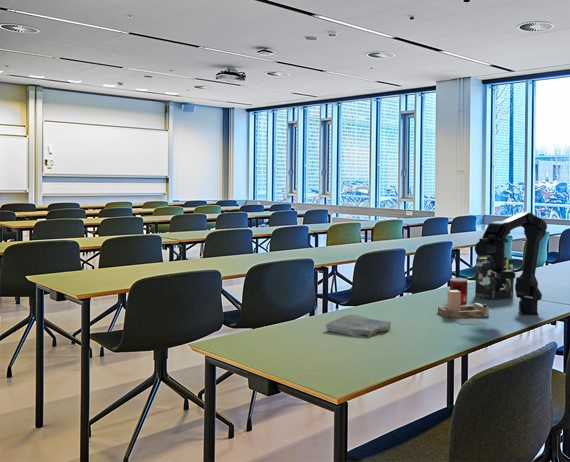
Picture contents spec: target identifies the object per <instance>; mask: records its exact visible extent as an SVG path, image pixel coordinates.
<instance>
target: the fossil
mask: <svg viewBox="0 0 570 462" xmlns="http://www.w3.org/2000/svg"><path fill="white" fill-rule="evenodd" d="M325 327H326V330H327V331H329V332H333V333H338V334H339V333H340V334H344V335H347V336H348V335H349V336H352V337H357V338H358V337H359V338H366V339H368V338H369V337H371V336H374V335H375V334H377V333H379V332H380V333H381V332H387V331H390V329H391V327H392V321H385V320H380V319H374V318H369V317H364V316H360V315H357V314H348V315H344V316H342V317H340V318H337V319H335V320H333V321H330V322H328V323H326V325H325Z"/></svg>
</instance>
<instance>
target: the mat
mask: <svg viewBox="0 0 570 462" xmlns="http://www.w3.org/2000/svg"><path fill="white" fill-rule="evenodd" d="M451 320H452V321H454V322H456V323H457V324H458V325H460V326H475V325H487V323H486V322H484V321H482V320H480V319H478V318H477V317H472V318H451Z"/></svg>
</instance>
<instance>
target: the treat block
mask: <svg viewBox="0 0 570 462" xmlns="http://www.w3.org/2000/svg"><path fill="white" fill-rule="evenodd" d="M446 295H447V296H446V297H447V299H446V300H447V301H446V305H447V310H448V311H460V309H461V306H462V304H461V292H460V291H458V290H450V289H449V290H447V293H446Z"/></svg>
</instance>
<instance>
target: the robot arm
mask: <svg viewBox="0 0 570 462" xmlns="http://www.w3.org/2000/svg"><path fill="white" fill-rule="evenodd" d="M519 227H522V228H524V229H523V230H524V231H523V233H524V236H525V238H526V245H525V253H524V259H523V266H522V272H521V274H520V275H519V276H516V274H517V273H516V272H515V270H514V271H511V270H507V268H506V267H504V264H505V260H507V258H508V257H507V256H506V253H505V251H506V243H509V240H508V238H506V237H507V236H509V235H510V234H511V231H513V230H514V229H517V228H519ZM547 230H548V224H547V223H546V221H545V220H544V219H542V218H540V217H539V216H537V215H535V214H533V212H531V211H520V212H518V213H517V214H515V215H512V216H510V217H507V218H506V219H504V220H498V221H491V222H489V223H488V225H487V227H486V229H485V231H484V233H483V235H482V236H481V237H480V238H479V239H478V242H476V244H475V245H474V251H475V254H476V255H477V256H479V257H487V260H486V261H483V262H480V263H478V264H476V263H475V264H474V268H475V272H476V271H477V273H480V274H483V273H485V272H488V275H486V276H487V277H488V278H490V280H491V283H492V286H493V290H494V293H498V292H499V290H500V288H501V286H502V285H503V283H504V281H505V280H506V279H515V285H514V290H515V294H516V298H519V299H520V300H519V301H518V312H519V313H520V314H522V315H535V316H536V315H539V314H540V313H538V302H539V301H541V300H542V297H543V294H542V292H541V290H540V289H539V288H538V287H539V282H538V279H537V277H536V269H537V263H538V257H539V256H538V255H539V248H540V242H541V241H542V240H543V238H544V237H545V236H546V232H547Z"/></svg>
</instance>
